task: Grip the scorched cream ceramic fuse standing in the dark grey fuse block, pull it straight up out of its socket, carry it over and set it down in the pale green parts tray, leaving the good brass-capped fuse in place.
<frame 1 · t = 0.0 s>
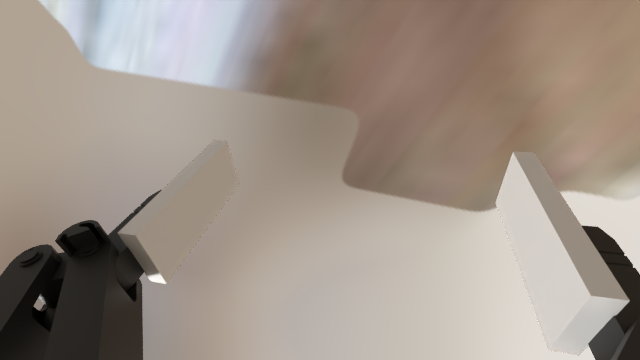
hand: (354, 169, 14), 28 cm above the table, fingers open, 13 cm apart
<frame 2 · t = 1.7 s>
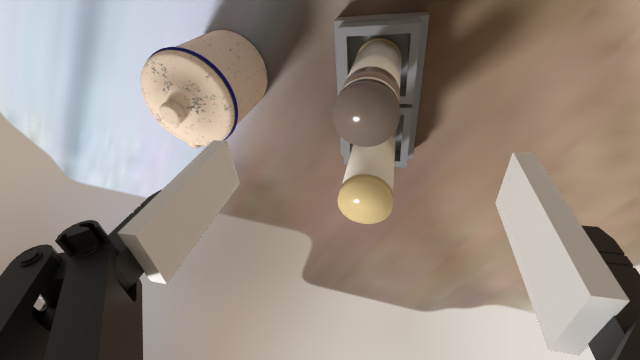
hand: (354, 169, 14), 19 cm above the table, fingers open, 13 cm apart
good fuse: (376, 129, 31), point 2 cm above the table, touching fuse block
blown fuse: (378, 61, 27), point 2 cm above the table, touching fuse block
fuse block: (379, 90, 31), on the table
teacup with lid: (230, 81, 34), on the table
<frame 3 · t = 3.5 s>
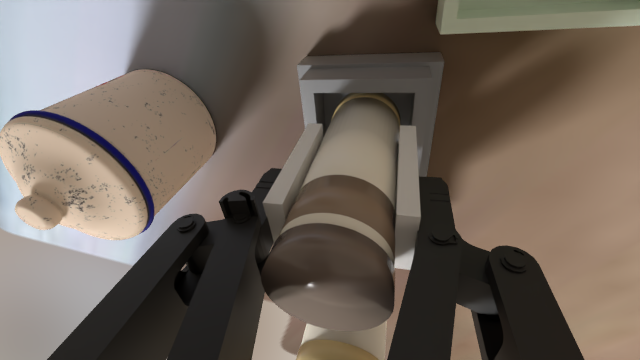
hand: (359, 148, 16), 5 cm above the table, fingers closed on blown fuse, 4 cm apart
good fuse: (365, 207, 22), point 2 cm above the table, touching fuse block
blown fuse: (366, 122, 18), point 2 cm above the table, touching fuse block, gripper
fuse block: (368, 154, 22), on the table
teacup with lid: (169, 133, 25), on the table
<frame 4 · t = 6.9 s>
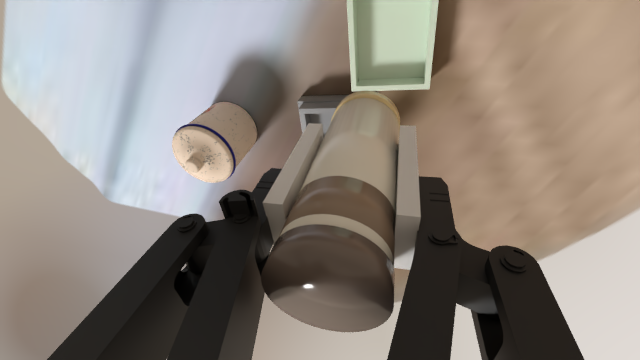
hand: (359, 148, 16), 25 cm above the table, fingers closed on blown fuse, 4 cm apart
blown fuse: (365, 123, 18), point 21 cm above the table, touching gripper
fuse block: (334, 140, 44), on the table
teacup with lid: (231, 133, 48), on the table
parts tray: (391, 34, 34), on the table
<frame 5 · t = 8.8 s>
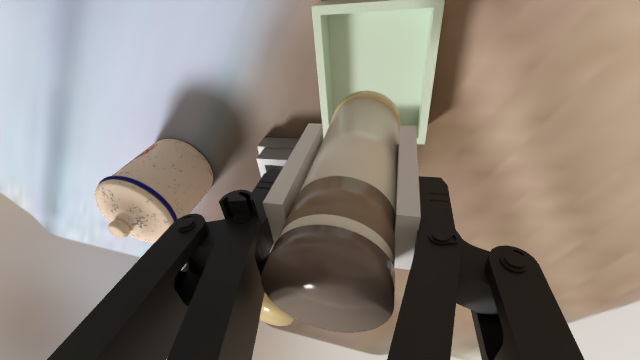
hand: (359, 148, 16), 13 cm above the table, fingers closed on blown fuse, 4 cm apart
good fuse: (305, 221, 36), point 2 cm above the table, touching fuse block
blown fuse: (366, 123, 18), point 10 cm above the table, touching gripper
fuse block: (306, 189, 36), on the table
teacup with lid: (183, 173, 39), on the table
parts tray: (376, 70, 26), on the table
when the fingers open (6 cm above the table, at t = 10.2 s): blown fuse drops 2 cm, resting on parts tray.
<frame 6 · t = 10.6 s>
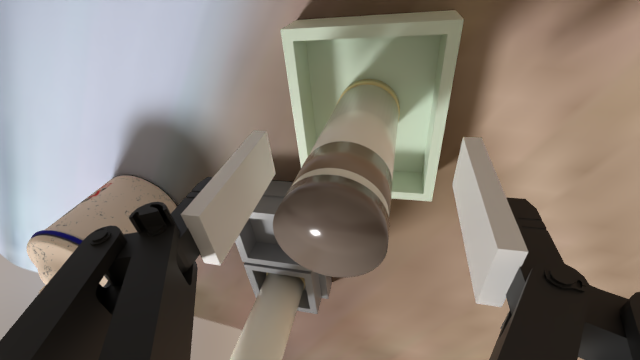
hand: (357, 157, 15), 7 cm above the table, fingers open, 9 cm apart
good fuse: (288, 273, 31), point 2 cm above the table, touching fuse block
blown fuse: (368, 109, 20), point 1 cm above the table, touching parts tray
fuse block: (289, 235, 30), on the table
teacup with lid: (147, 212, 34), on the table
parts tray: (369, 106, 20), on the table
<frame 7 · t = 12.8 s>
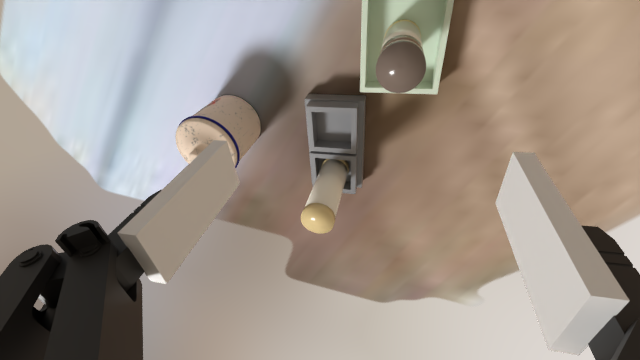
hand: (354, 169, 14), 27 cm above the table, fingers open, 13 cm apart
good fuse: (335, 166, 45), point 2 cm above the table, touching fuse block
blown fuse: (402, 39, 34), point 1 cm above the table, touching parts tray
fuse block: (337, 140, 45), on the table
teacup with lid: (234, 127, 48), on the table
parts tray: (402, 38, 35), on the table
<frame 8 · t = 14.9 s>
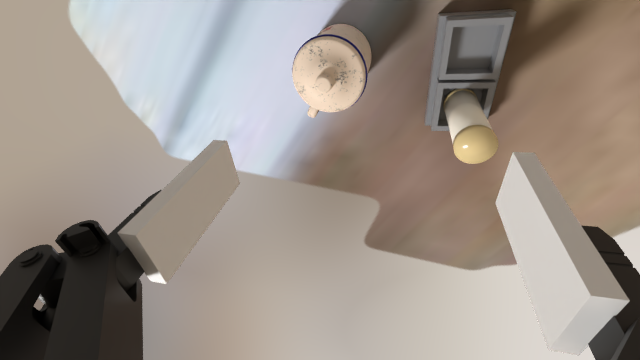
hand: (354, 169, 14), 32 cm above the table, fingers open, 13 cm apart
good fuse: (459, 102, 40), point 2 cm above the table, touching fuse block
fuse block: (462, 71, 39), on the table
teacup with lid: (336, 66, 43), on the table
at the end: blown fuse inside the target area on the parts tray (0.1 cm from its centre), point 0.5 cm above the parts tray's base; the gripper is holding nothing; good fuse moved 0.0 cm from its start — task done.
